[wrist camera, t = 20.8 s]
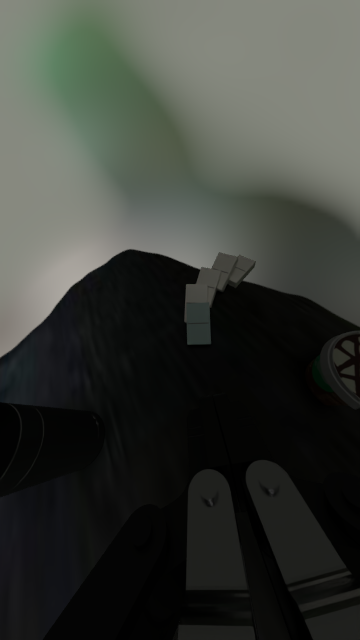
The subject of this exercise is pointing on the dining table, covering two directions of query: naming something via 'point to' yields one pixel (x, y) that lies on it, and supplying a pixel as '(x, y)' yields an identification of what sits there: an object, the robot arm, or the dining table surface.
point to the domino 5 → (241, 270)
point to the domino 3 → (198, 323)
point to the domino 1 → (209, 282)
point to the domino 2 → (195, 295)
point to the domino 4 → (224, 268)
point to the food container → (337, 371)
